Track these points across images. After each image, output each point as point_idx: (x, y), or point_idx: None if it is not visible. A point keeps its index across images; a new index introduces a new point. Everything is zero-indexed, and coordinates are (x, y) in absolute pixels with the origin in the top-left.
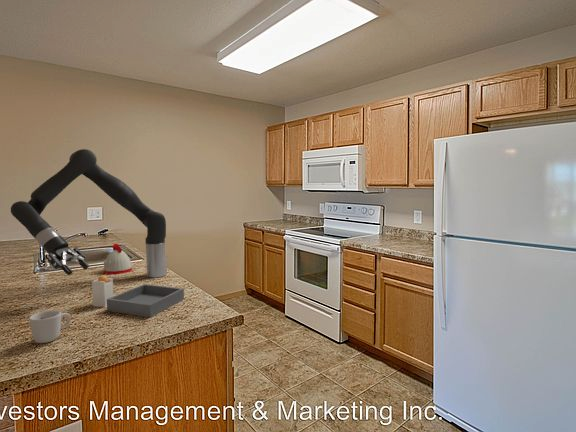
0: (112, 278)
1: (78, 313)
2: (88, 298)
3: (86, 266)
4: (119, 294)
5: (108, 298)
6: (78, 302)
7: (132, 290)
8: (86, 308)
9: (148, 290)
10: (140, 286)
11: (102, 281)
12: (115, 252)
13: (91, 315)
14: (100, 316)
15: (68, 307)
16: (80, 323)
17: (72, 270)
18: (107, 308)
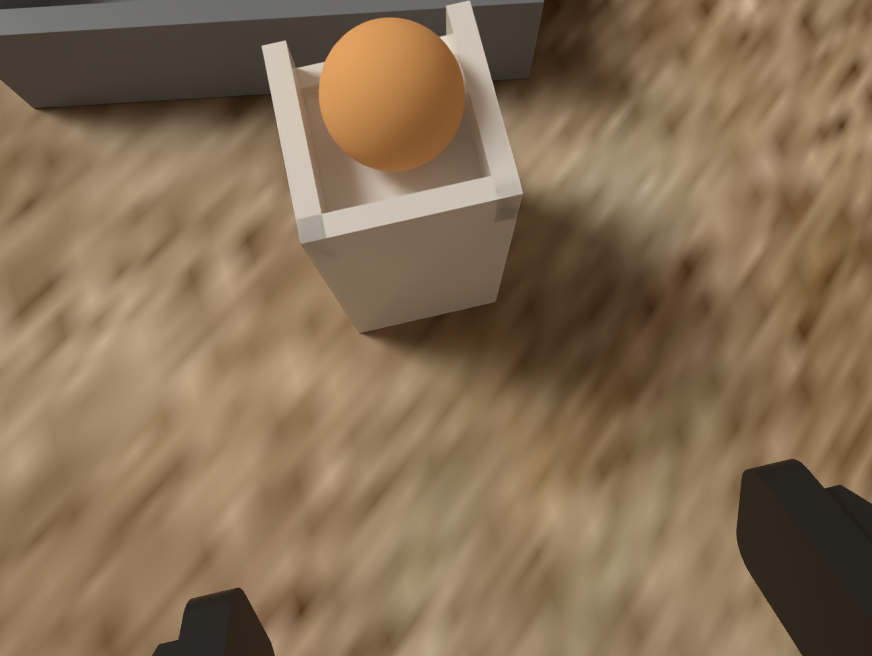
0: (266, 46)
1: (690, 261)
2: (334, 574)
3: (242, 628)
4: (371, 1)
5: (519, 1)
6: (476, 559)
7: (192, 2)
8: (567, 307)
9: (30, 3)
10: (51, 9)
11: (458, 39)
12: None
13: (668, 111)
14: (648, 25)
15: (628, 515)
16: (825, 47)
17: (762, 484)
18: (530, 62)
